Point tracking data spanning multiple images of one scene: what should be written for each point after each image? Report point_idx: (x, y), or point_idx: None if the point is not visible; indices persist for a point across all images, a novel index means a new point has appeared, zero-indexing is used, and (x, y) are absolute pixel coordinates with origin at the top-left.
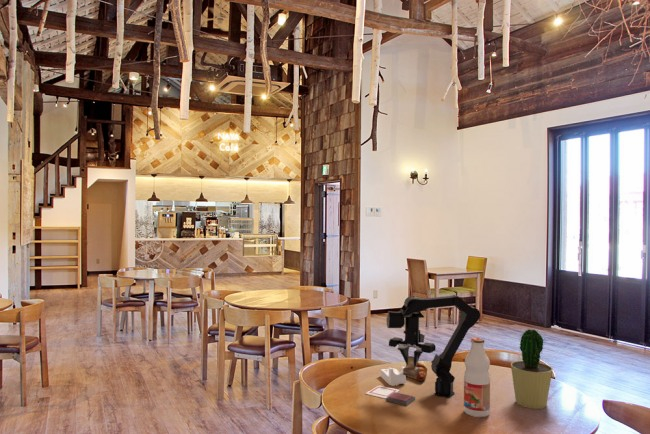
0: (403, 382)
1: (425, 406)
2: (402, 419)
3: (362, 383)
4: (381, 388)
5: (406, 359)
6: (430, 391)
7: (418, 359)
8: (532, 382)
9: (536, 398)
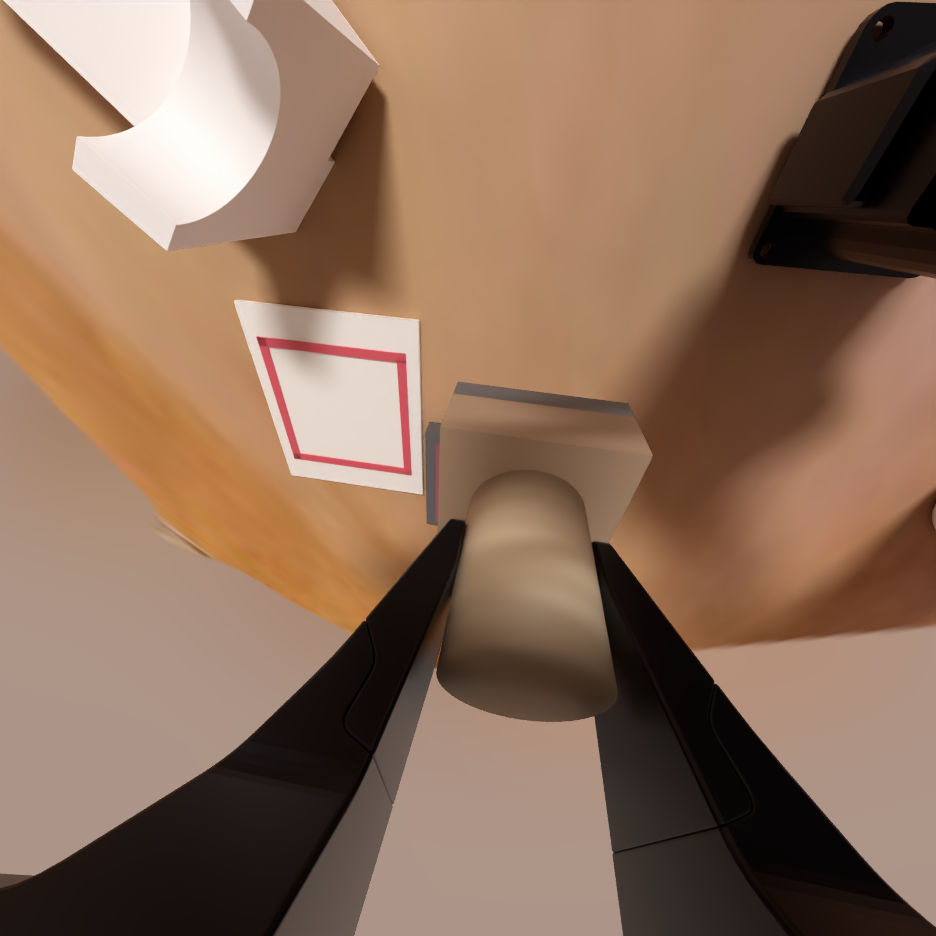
0: (356, 98)
1: (653, 506)
2: None
3: (122, 307)
4: (296, 360)
5: (438, 649)
6: (706, 160)
7: (687, 673)
8: None
9: None
